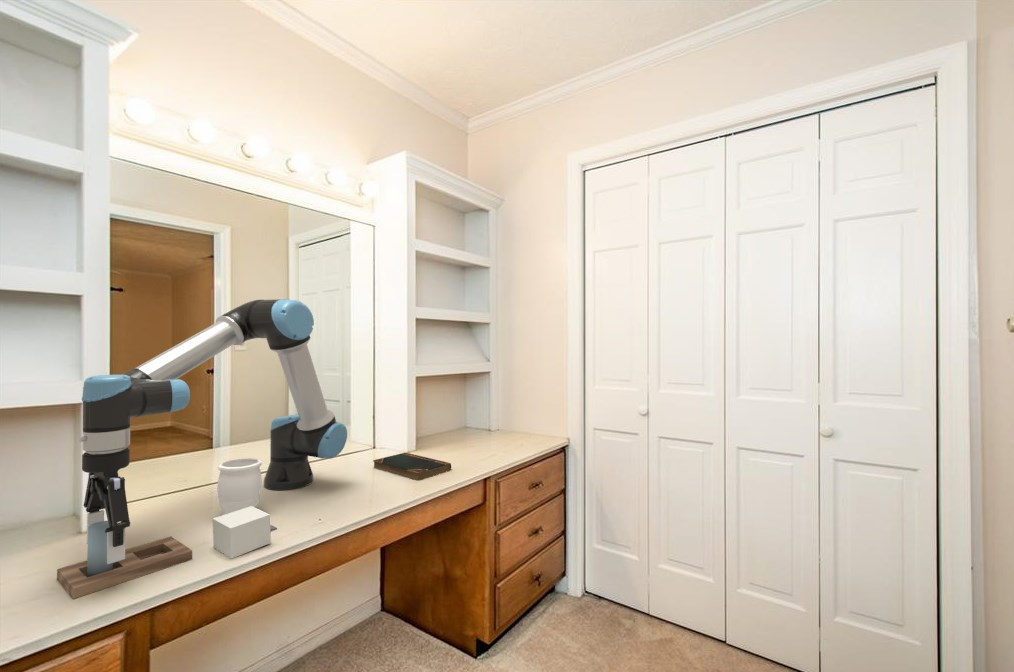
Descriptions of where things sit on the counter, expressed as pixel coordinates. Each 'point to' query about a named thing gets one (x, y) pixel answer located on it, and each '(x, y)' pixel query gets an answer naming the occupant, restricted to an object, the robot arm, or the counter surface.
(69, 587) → the socket board
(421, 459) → the book
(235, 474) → the jar
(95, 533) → the peg
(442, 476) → the counter surface
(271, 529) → the tile
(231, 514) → the cover
